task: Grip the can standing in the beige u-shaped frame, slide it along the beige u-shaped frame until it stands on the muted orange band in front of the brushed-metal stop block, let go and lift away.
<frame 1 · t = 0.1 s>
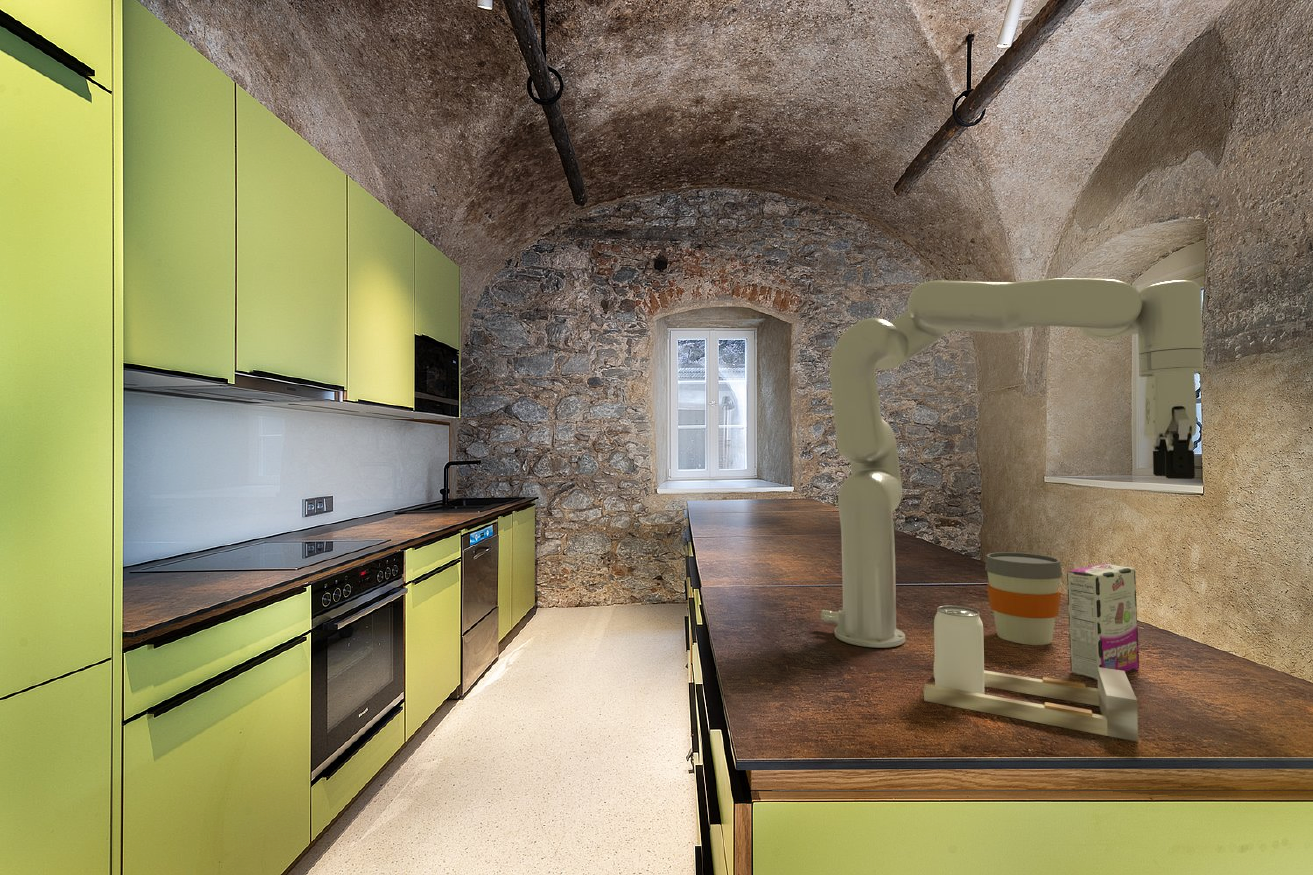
hand: (1172, 477, 92), 31 cm above the countertop, fingers open, 9 cm apart
candy bar box: (1104, 672, 97), on the countertop
beige u-shaped frame: (1014, 702, 86), on the countertop
reusable coffee cup: (1024, 638, 115), on the countertop
can: (959, 694, 89), on the countertop
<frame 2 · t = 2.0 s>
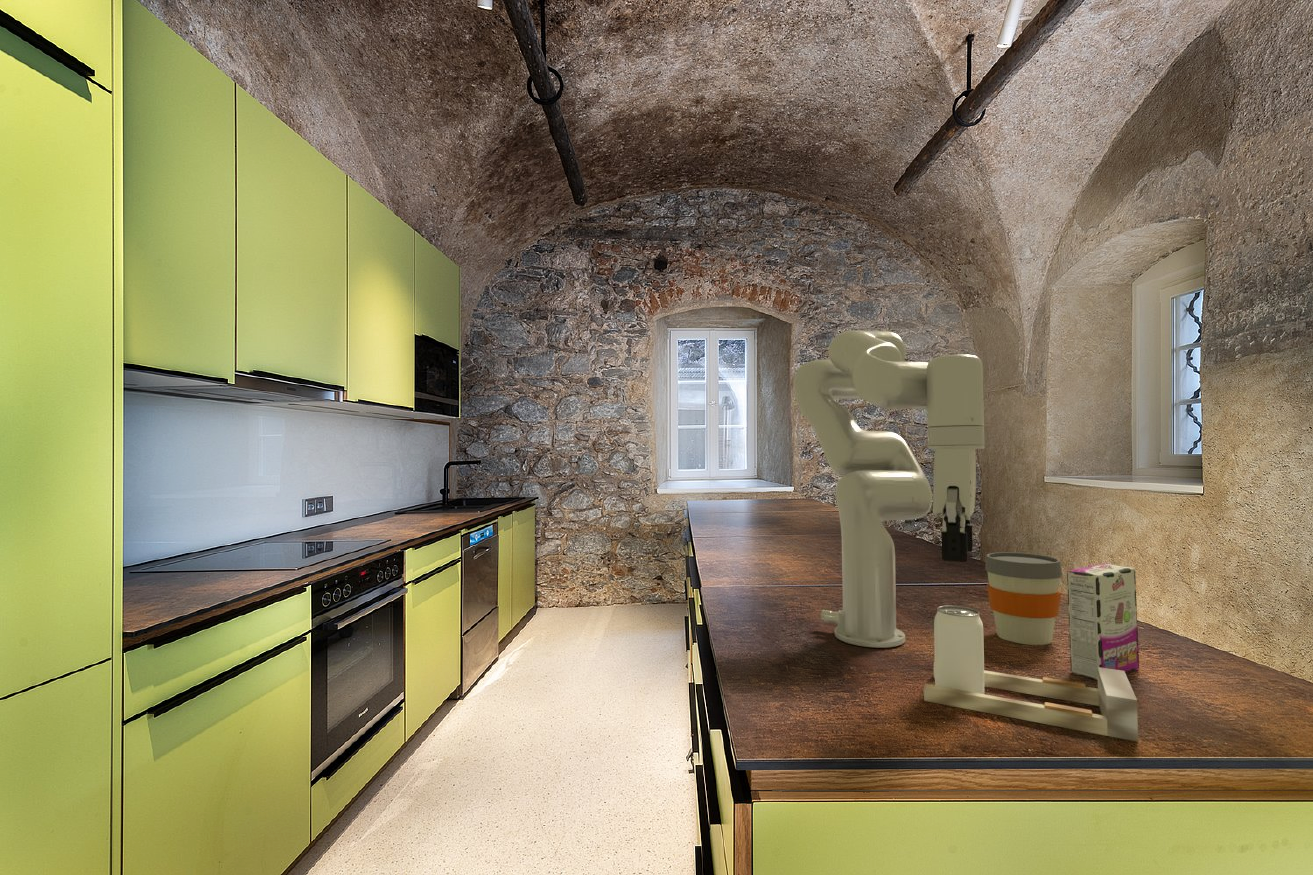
hand: (957, 555, 90), 20 cm above the countertop, fingers open, 9 cm apart
nothing on the countertop moved.
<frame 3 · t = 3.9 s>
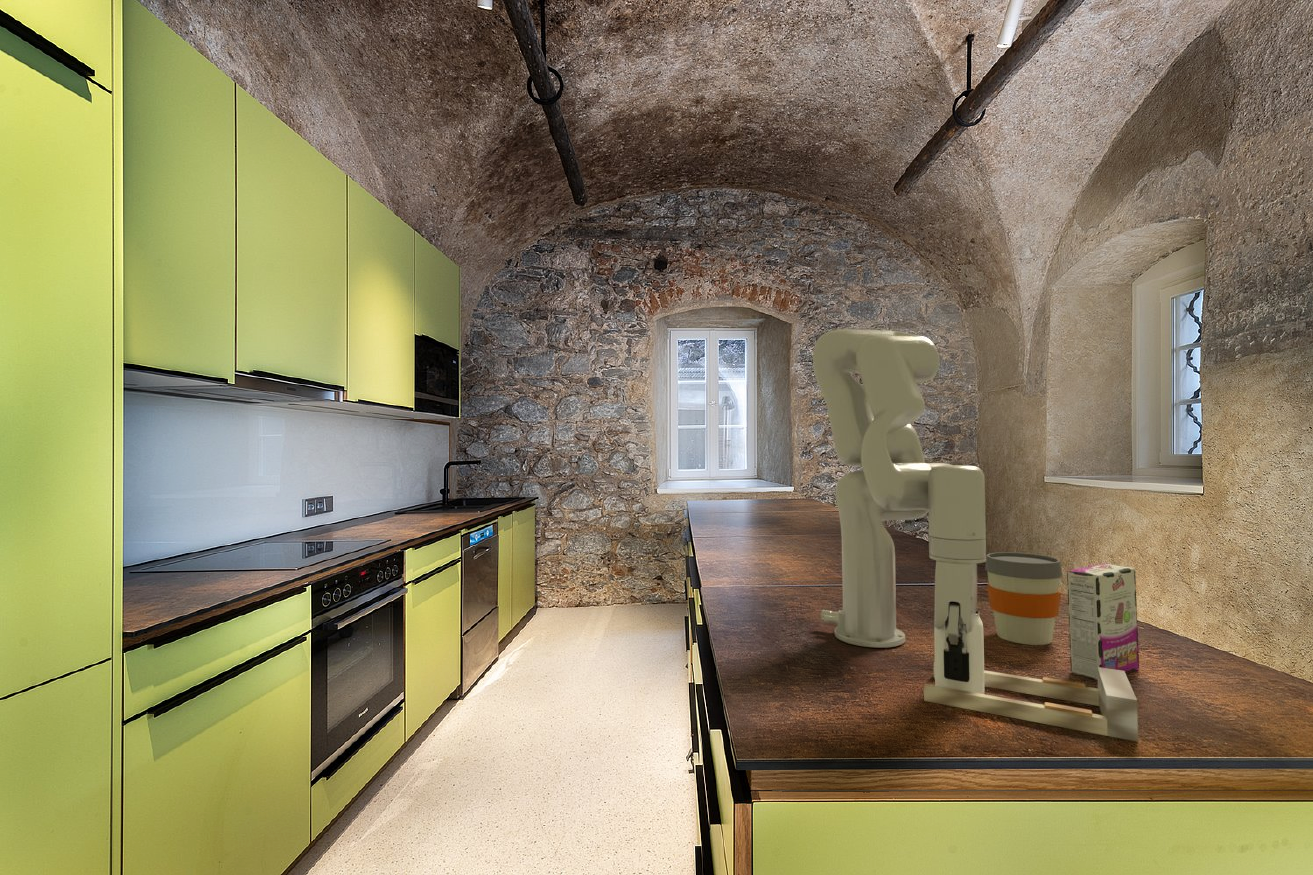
hand: (959, 670, 89), 3 cm above the countertop, fingers closed on can, 6 cm apart
can: (959, 693, 89), on the countertop, touching gripper
everything else where it was.
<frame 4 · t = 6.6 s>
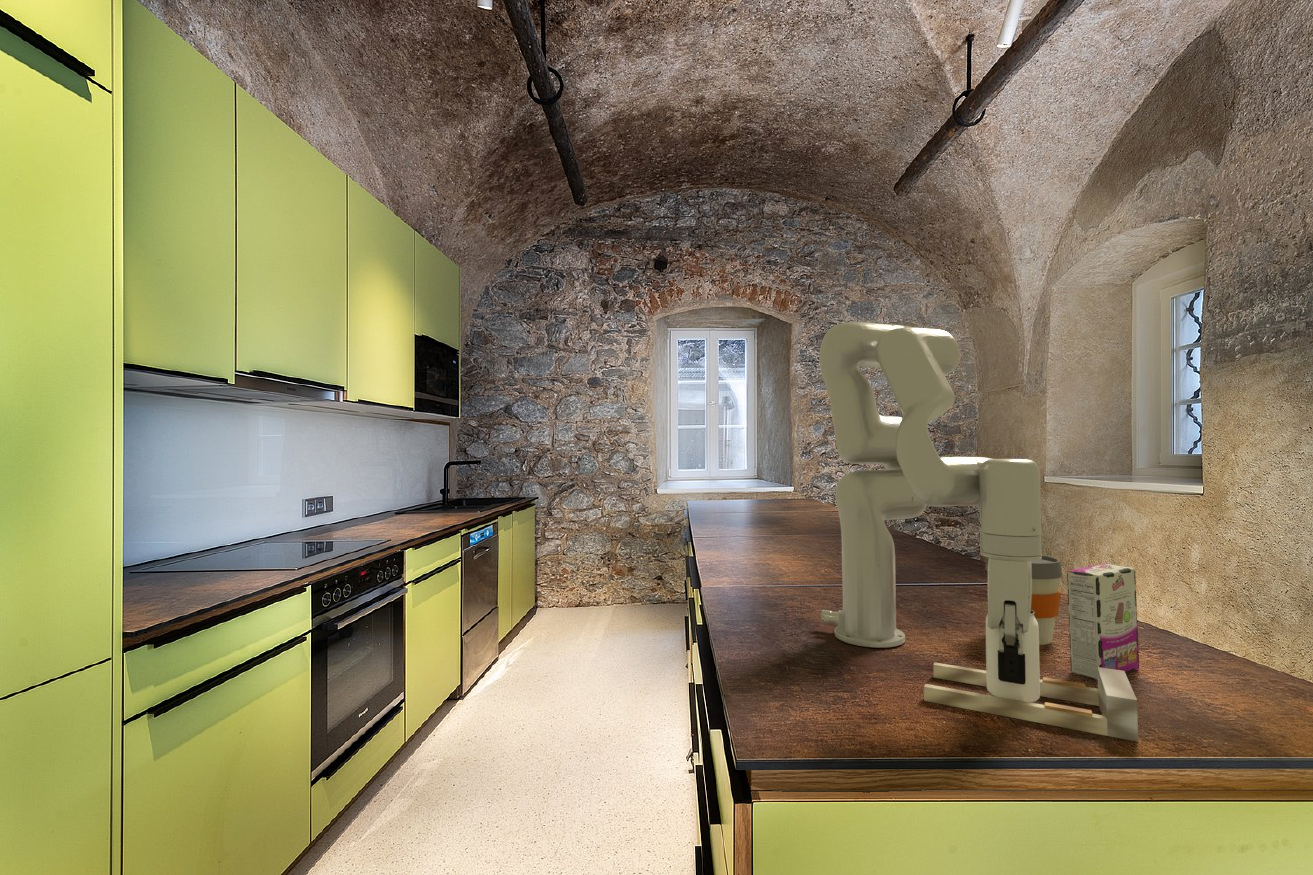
hand: (1012, 672, 86), 4 cm above the countertop, fingers closed on can, 6 cm apart
can: (1012, 696, 86), point 1 cm above the countertop, touching gripper
everything else where it was.
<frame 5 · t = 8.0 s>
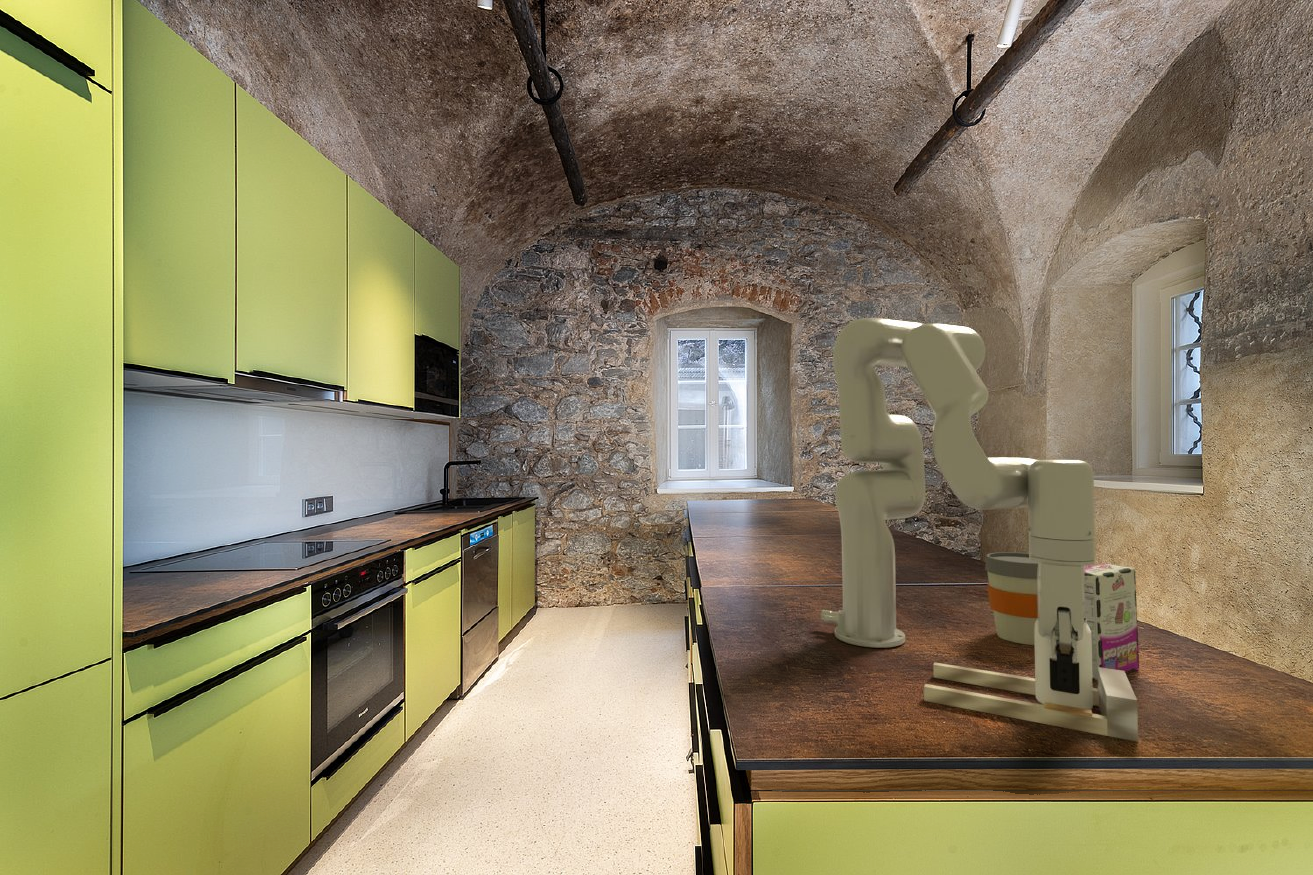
hand: (1063, 681, 83), 4 cm above the countertop, fingers closed on can, 6 cm apart
can: (1063, 706, 83), point 1 cm above the countertop, touching gripper
everything else where it was.
when the fingers open (4 cm above the countertop, at t = 9.2 s): can stays where it is, on the countertop.
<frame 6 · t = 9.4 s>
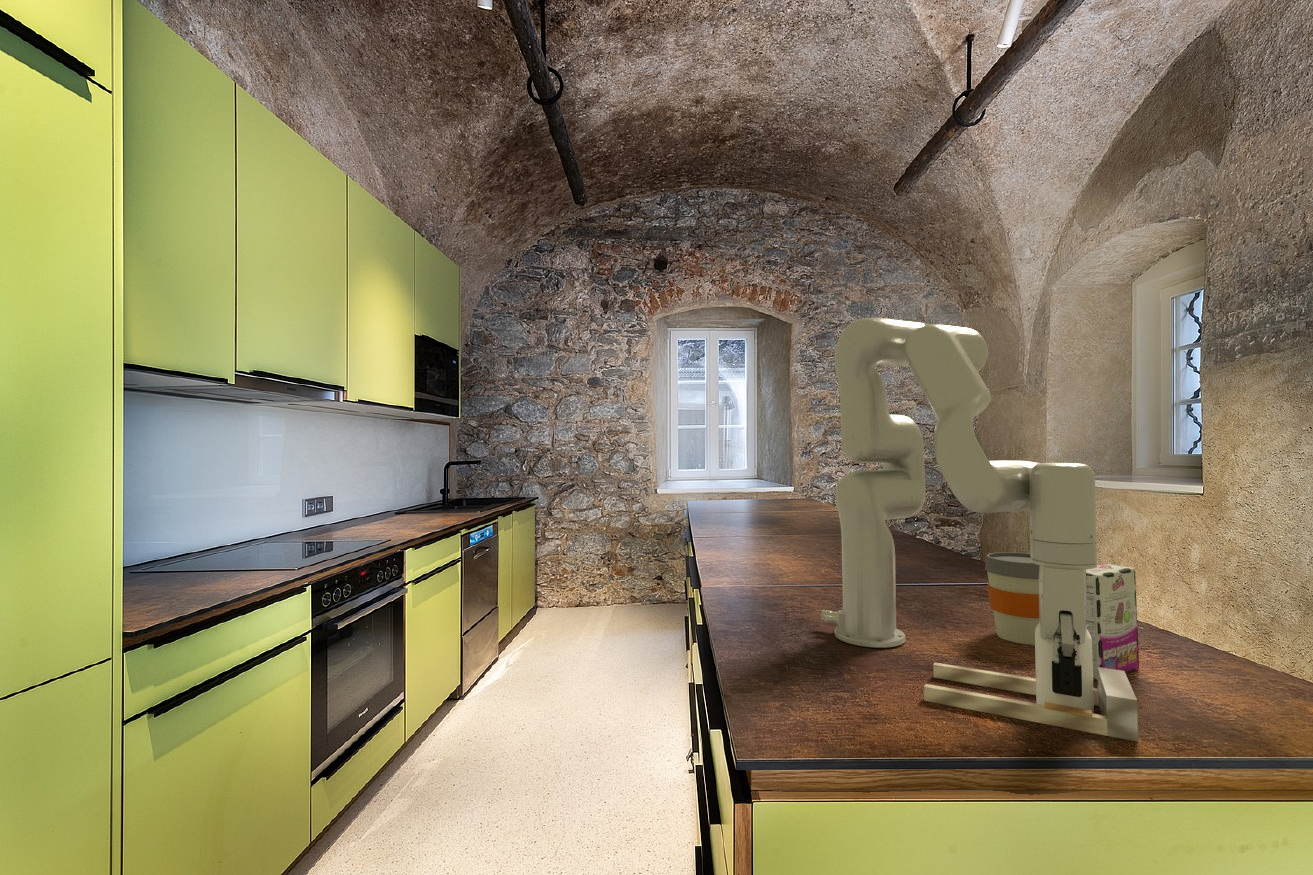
hand: (1065, 682, 83), 4 cm above the countertop, fingers open, 7 cm apart
can: (1064, 712, 83), on the countertop
everything else where it was.
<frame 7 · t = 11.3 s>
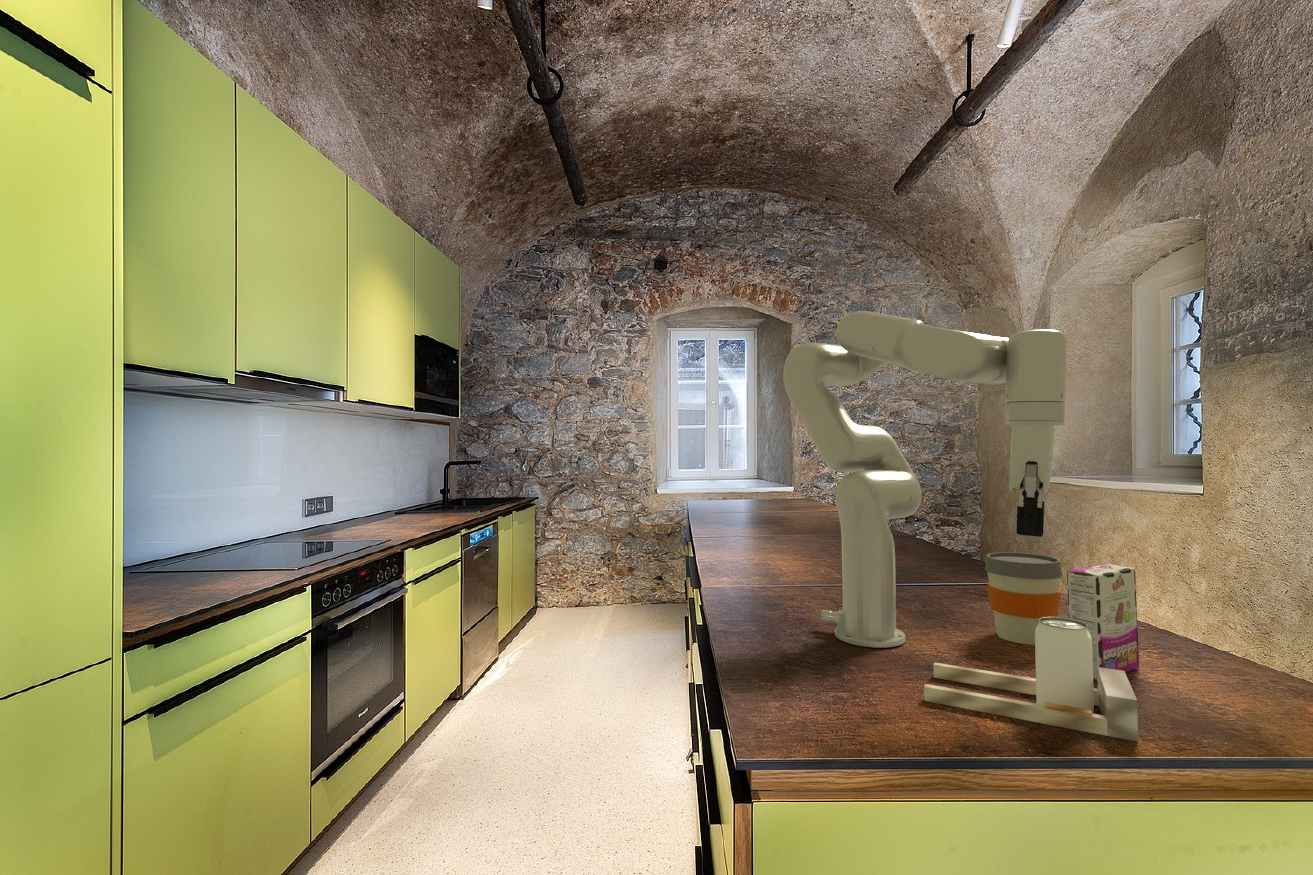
hand: (1030, 530, 90), 24 cm above the countertop, fingers open, 9 cm apart
nothing on the countertop moved.
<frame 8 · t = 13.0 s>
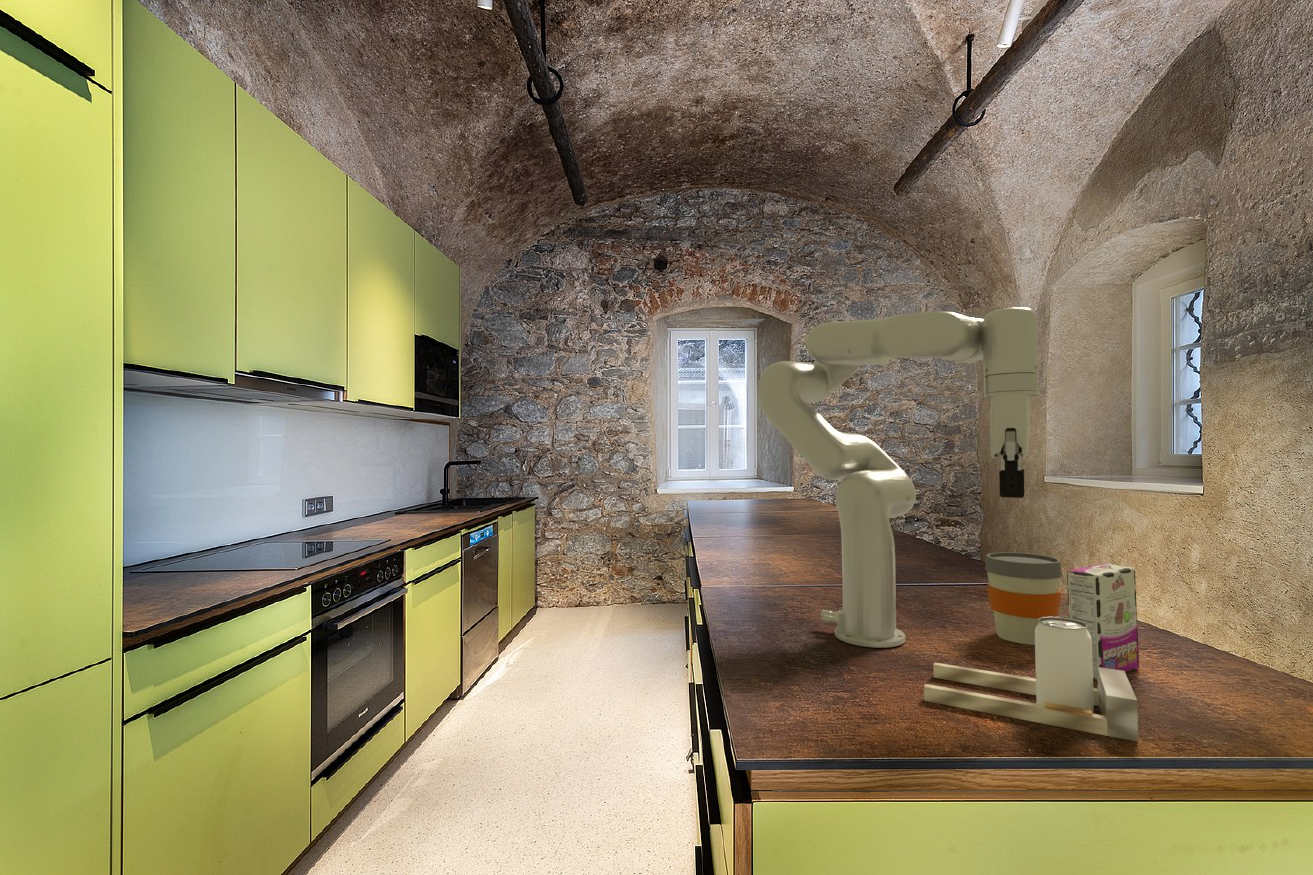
hand: (1012, 495, 96), 28 cm above the countertop, fingers open, 9 cm apart
nothing on the countertop moved.
at the end: can 0.5 cm from the target spot, on the countertop; can tilted 0°; the gripper is holding nothing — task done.
